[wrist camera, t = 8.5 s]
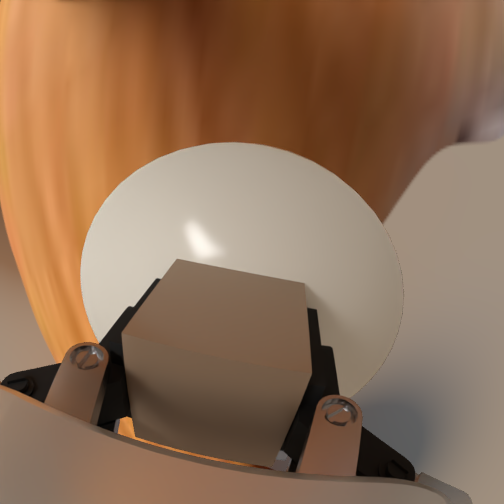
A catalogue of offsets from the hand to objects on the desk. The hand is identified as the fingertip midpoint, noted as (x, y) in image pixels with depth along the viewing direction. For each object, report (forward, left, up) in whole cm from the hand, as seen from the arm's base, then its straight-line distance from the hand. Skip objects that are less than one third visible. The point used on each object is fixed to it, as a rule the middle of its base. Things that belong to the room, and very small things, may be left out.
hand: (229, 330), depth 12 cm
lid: (0, 0, -1) cm, 1 cm away
